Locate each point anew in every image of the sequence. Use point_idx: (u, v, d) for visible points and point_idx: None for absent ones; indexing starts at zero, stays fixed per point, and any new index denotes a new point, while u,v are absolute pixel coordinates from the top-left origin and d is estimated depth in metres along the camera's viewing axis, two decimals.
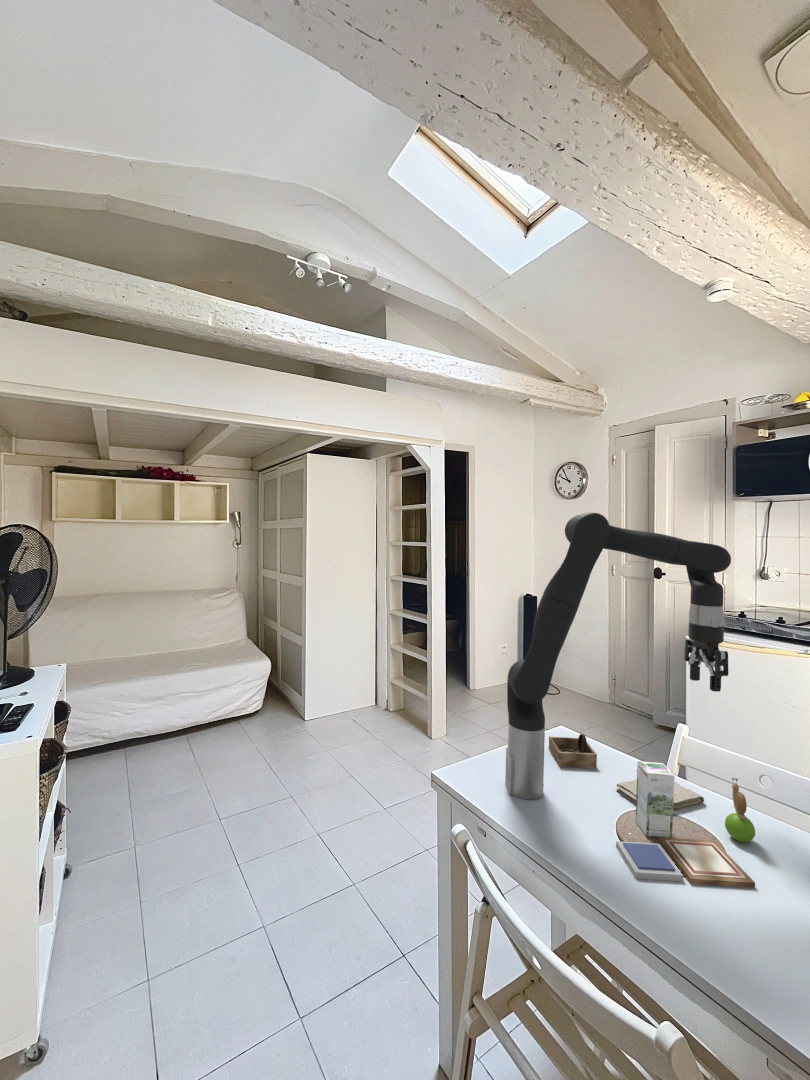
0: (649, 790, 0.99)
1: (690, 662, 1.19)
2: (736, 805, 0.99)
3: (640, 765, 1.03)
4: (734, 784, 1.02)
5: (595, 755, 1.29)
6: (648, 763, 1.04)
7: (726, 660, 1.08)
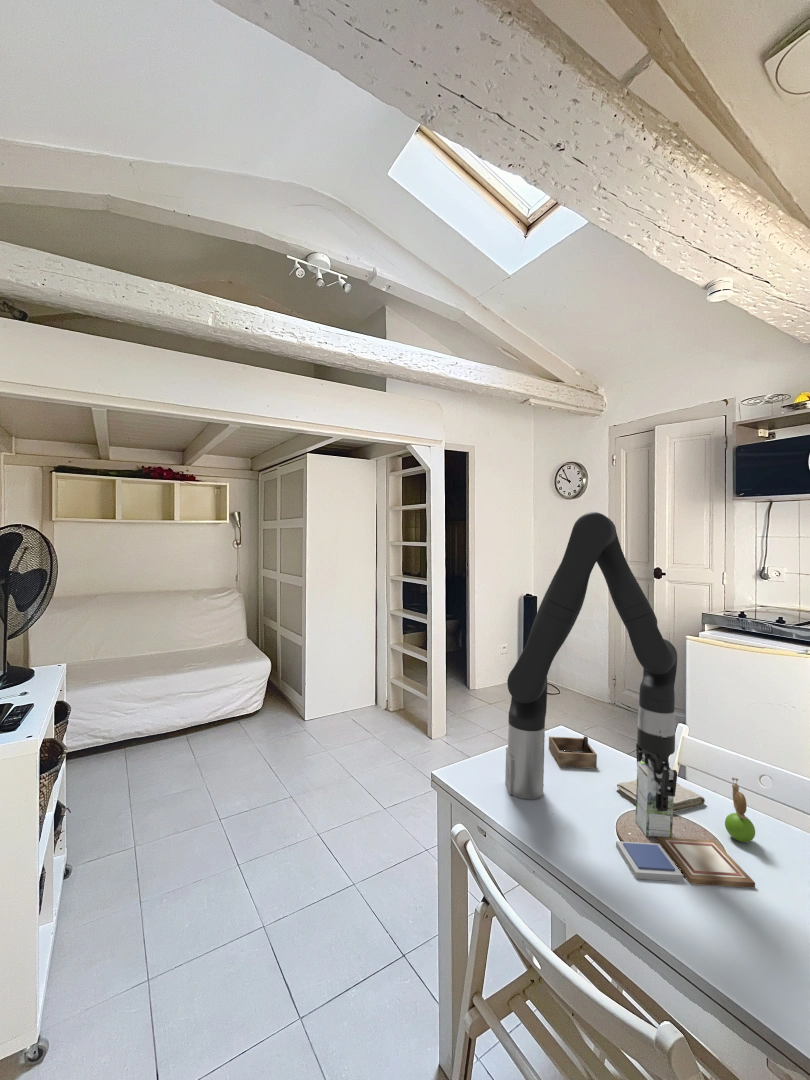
0: (649, 789, 0.99)
1: None
2: (736, 805, 0.99)
3: (640, 765, 1.03)
4: (734, 784, 1.02)
5: (595, 755, 1.29)
6: None
7: (674, 781, 0.95)
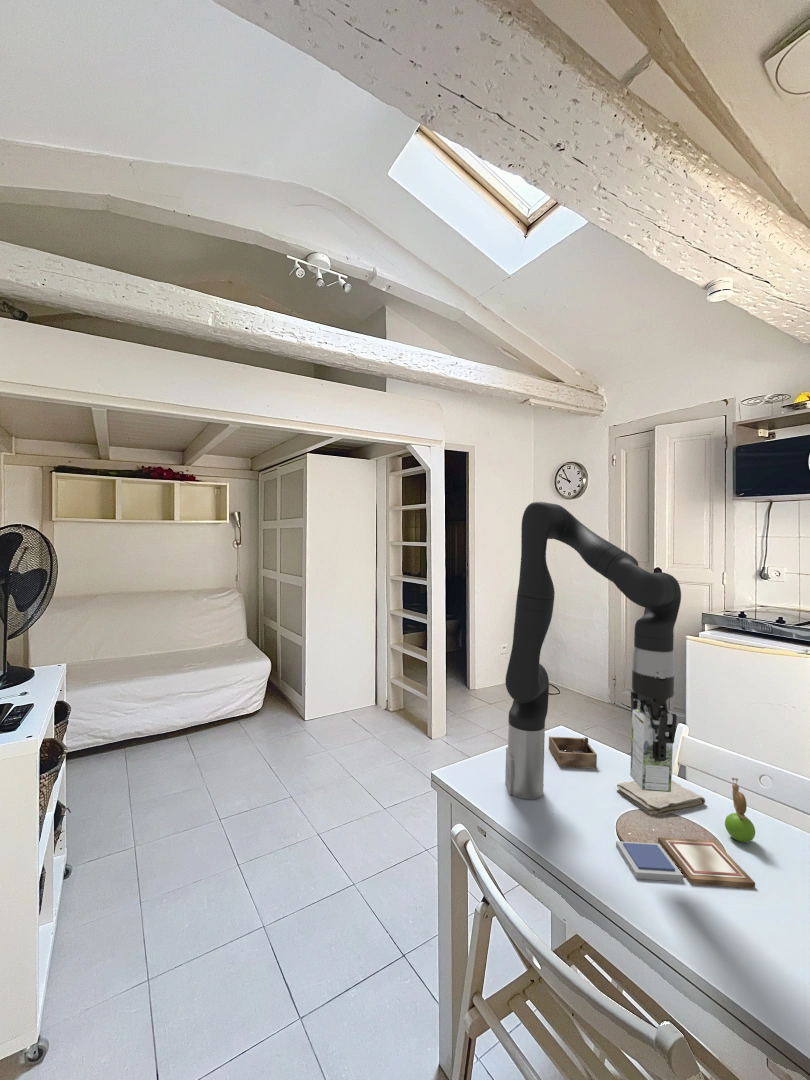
0: (646, 738, 0.89)
1: None
2: (736, 805, 0.99)
3: (635, 713, 0.93)
4: (734, 784, 1.02)
5: (595, 755, 1.29)
6: None
7: (673, 726, 0.85)
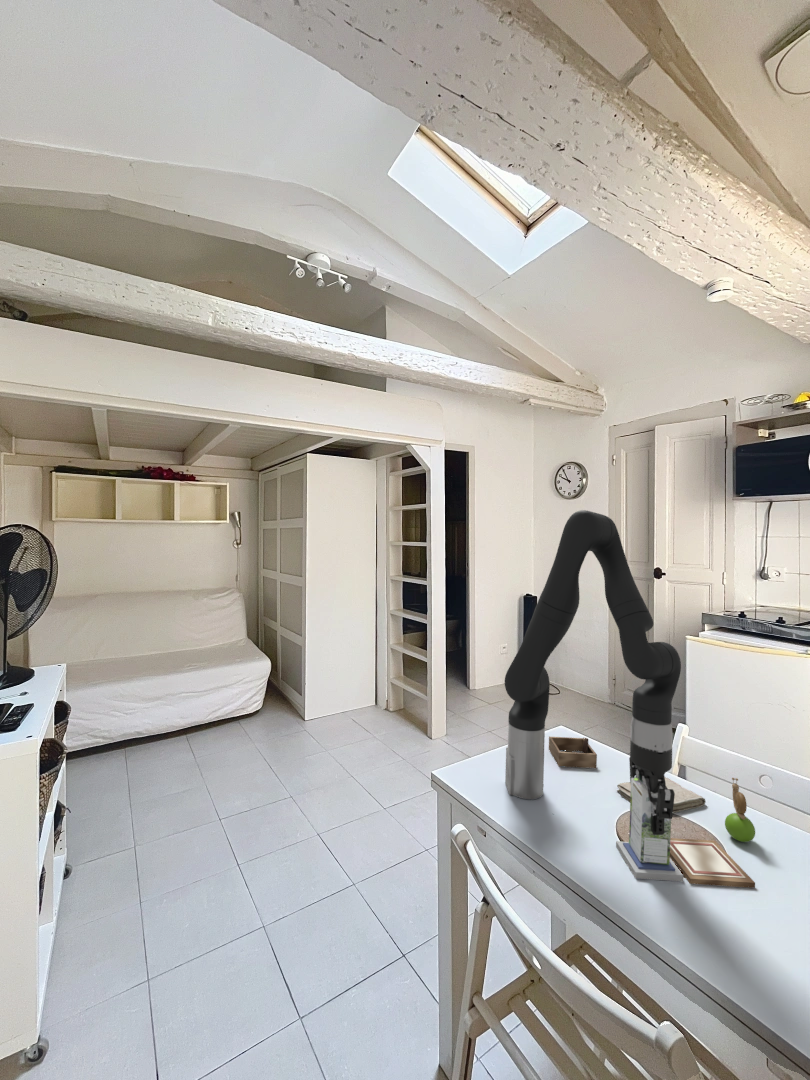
0: (644, 810, 0.89)
1: None
2: (736, 805, 0.99)
3: (634, 782, 0.93)
4: (734, 784, 1.02)
5: (595, 755, 1.29)
6: None
7: (671, 802, 0.85)
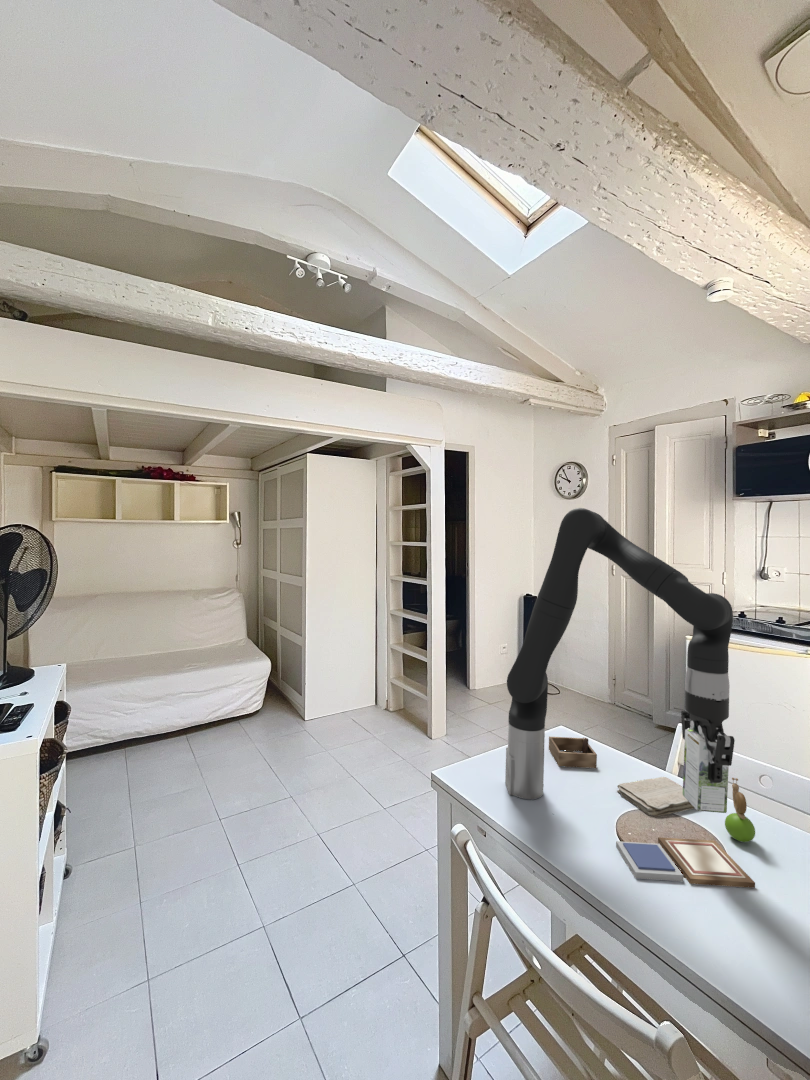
0: (701, 759, 0.89)
1: None
2: (736, 805, 0.99)
3: (689, 733, 0.93)
4: (734, 784, 1.02)
5: (595, 755, 1.29)
6: None
7: (731, 748, 0.85)
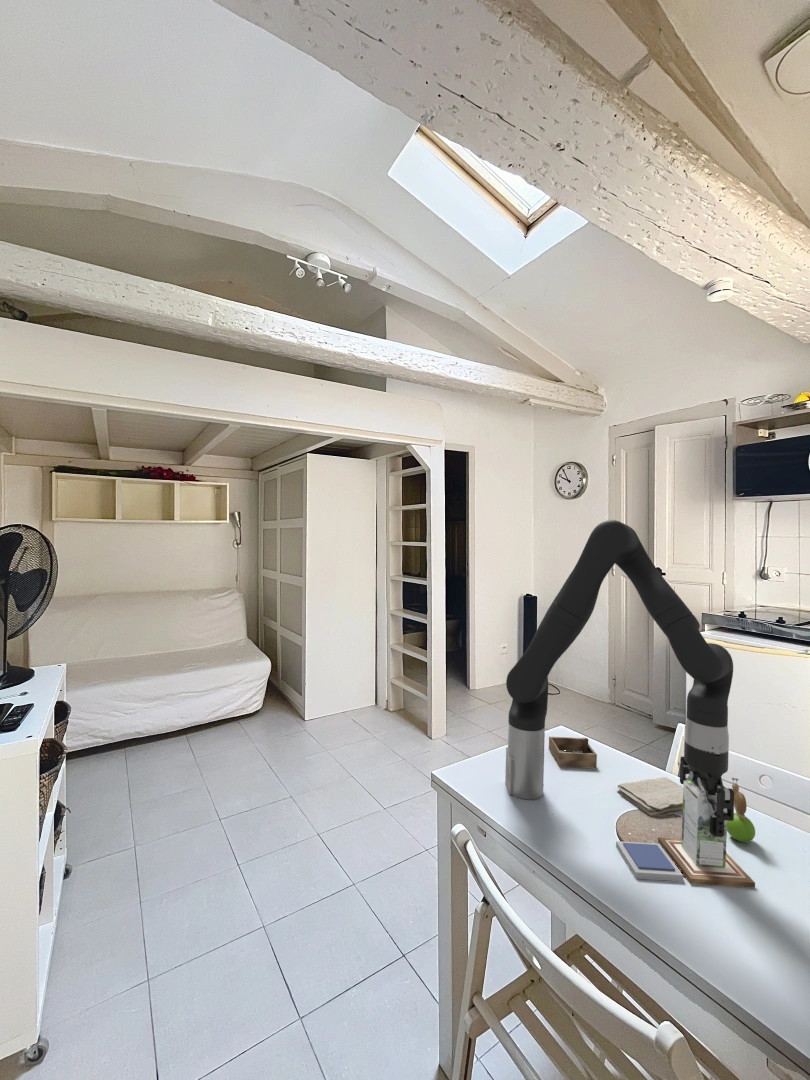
0: (700, 813, 0.89)
1: None
2: (736, 805, 0.99)
3: (687, 785, 0.93)
4: (734, 784, 1.02)
5: (595, 755, 1.29)
6: None
7: (731, 802, 0.85)
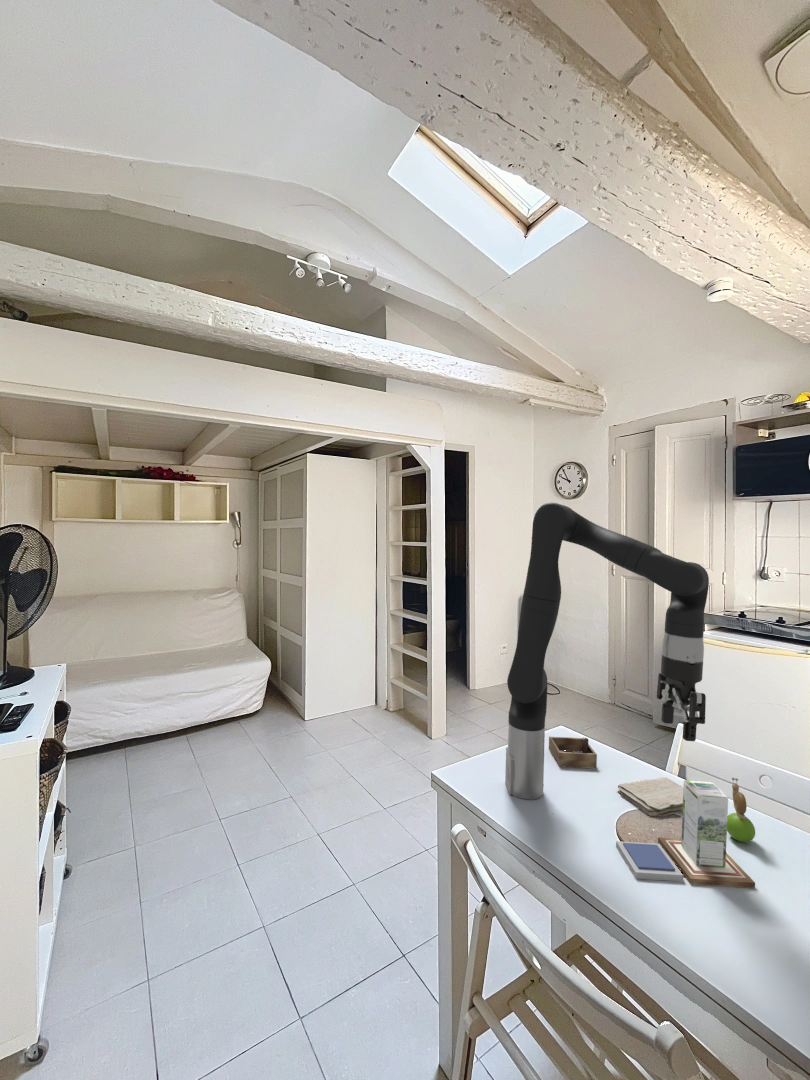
0: (700, 813, 0.89)
1: (662, 701, 1.00)
2: (736, 805, 0.99)
3: (687, 785, 0.93)
4: (734, 784, 1.02)
5: (595, 755, 1.29)
6: (696, 782, 0.93)
7: (703, 705, 0.88)
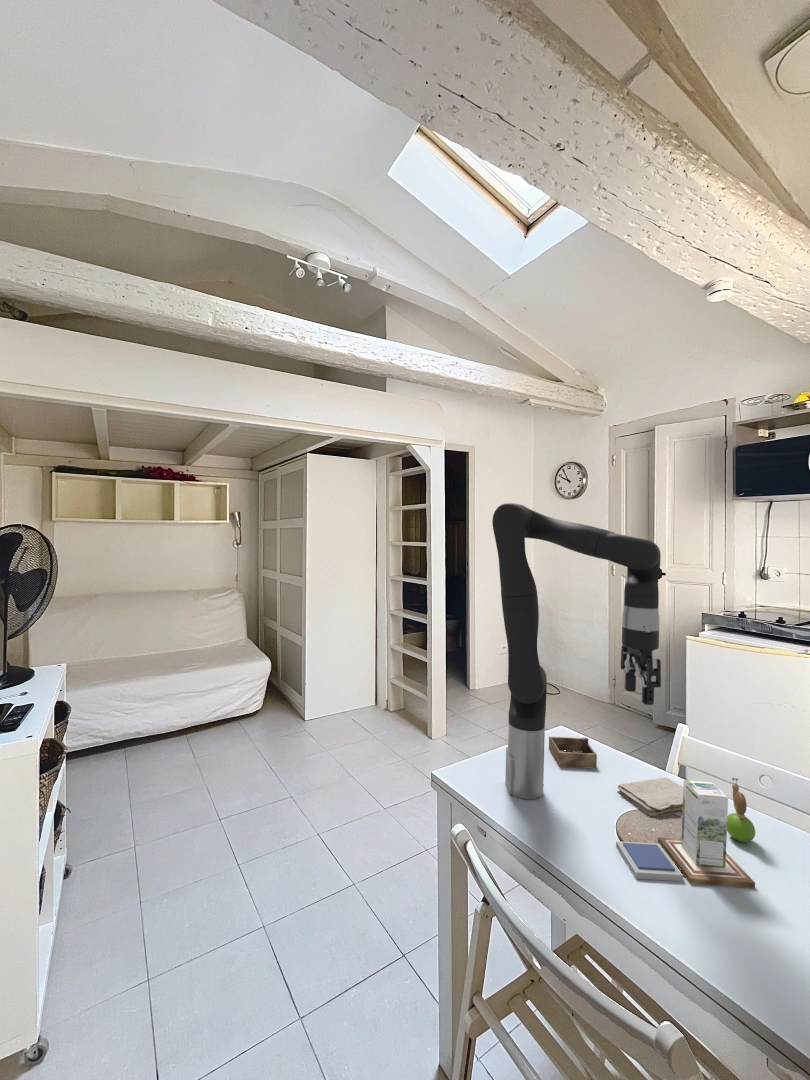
0: (700, 813, 0.89)
1: (625, 671, 1.06)
2: (736, 805, 0.99)
3: (687, 785, 0.93)
4: (734, 784, 1.02)
5: (595, 755, 1.29)
6: (696, 782, 0.93)
7: (658, 669, 0.95)
